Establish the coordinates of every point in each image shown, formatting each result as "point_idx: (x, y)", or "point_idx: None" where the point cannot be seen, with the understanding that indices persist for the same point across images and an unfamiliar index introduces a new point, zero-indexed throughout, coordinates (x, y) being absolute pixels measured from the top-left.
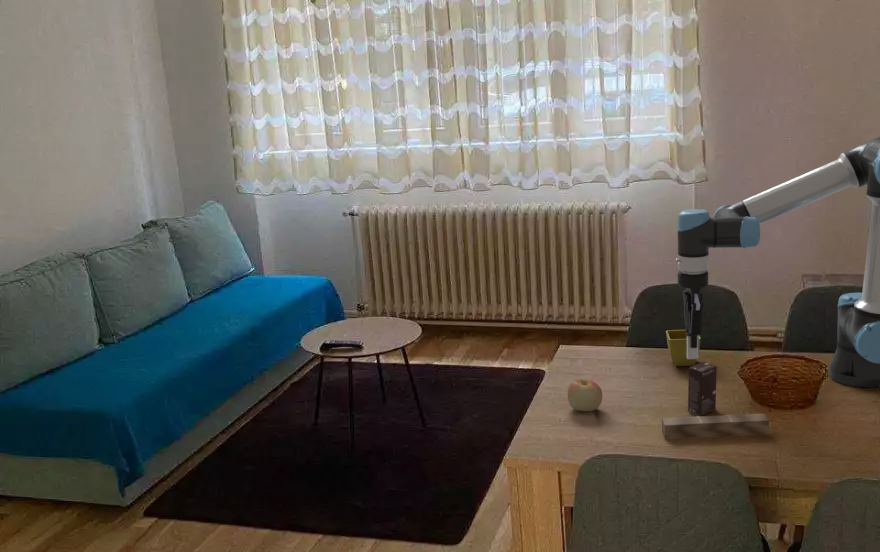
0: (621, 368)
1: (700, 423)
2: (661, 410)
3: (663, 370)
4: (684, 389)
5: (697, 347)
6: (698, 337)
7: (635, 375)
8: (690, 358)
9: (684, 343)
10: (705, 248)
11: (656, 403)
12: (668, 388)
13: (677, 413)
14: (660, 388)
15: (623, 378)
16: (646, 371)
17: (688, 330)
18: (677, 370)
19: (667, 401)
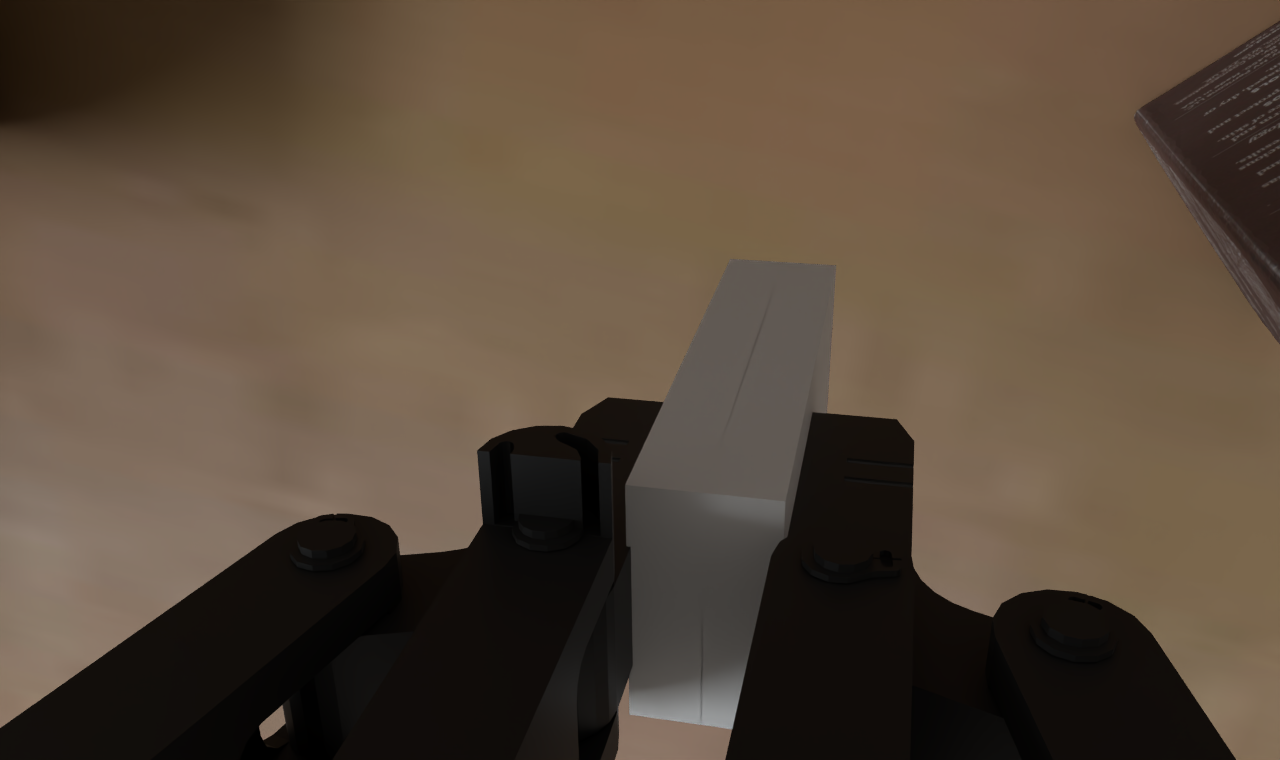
0: (88, 598)
1: None
2: (1137, 550)
3: (102, 273)
4: (618, 196)
5: (816, 374)
6: (793, 469)
7: (241, 537)
8: (827, 401)
9: None
10: None
11: (945, 546)
12: (574, 345)
13: (1270, 432)
14: (567, 416)
15: None
16: (140, 427)
17: (612, 741)
18: (89, 136)
19: (917, 440)
